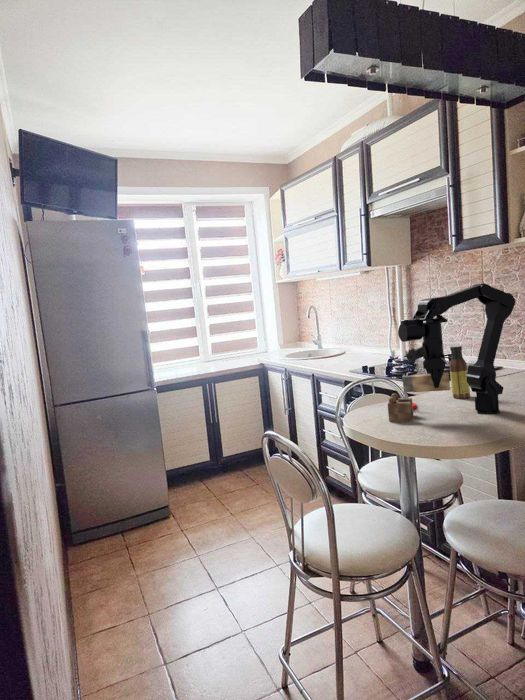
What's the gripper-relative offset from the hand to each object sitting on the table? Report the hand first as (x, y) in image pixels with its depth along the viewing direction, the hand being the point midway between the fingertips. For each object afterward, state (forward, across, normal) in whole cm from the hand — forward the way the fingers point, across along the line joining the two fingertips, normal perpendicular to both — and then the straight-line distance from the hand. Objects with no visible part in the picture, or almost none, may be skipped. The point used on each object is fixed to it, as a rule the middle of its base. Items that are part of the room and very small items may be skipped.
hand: (436, 386), depth 139 cm
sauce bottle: (+11, -32, +8) cm, 35 cm away
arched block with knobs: (+11, -2, -11) cm, 16 cm away
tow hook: (+11, -18, -12) cm, 24 cm away
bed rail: (+1, 0, -3) cm, 3 cm away
